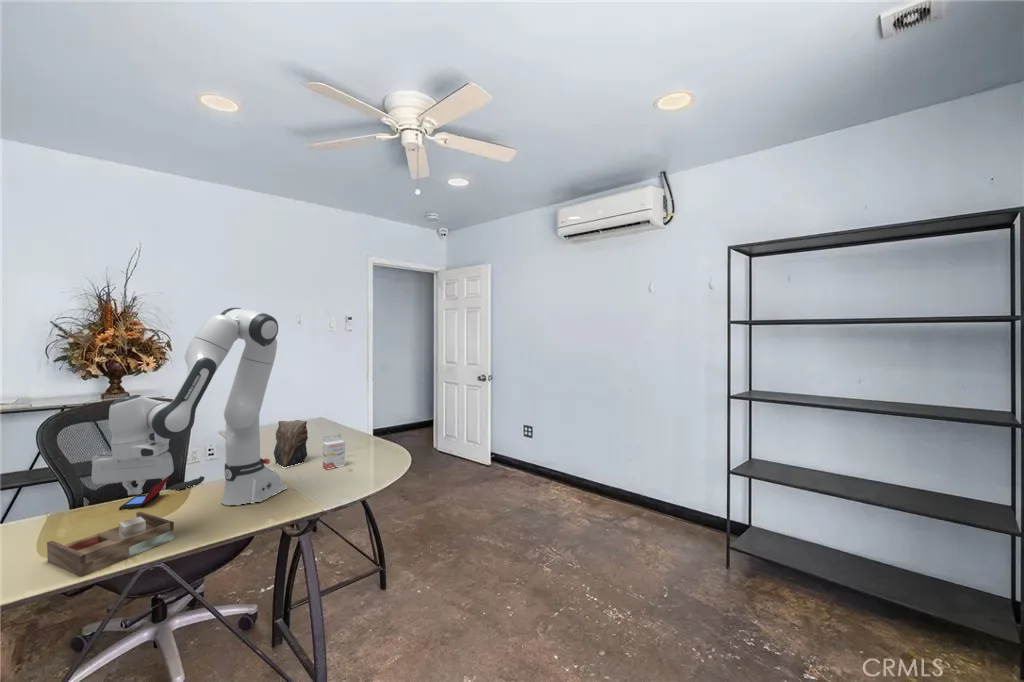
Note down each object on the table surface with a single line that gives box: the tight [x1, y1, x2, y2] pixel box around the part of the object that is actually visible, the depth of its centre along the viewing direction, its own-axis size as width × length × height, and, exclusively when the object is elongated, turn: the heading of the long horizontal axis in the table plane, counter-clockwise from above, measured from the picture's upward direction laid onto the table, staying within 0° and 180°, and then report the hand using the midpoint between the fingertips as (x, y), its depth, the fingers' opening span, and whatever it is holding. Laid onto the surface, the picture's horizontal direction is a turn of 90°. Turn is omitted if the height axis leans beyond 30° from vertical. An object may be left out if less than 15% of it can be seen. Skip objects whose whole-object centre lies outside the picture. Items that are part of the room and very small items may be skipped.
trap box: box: [46, 511, 175, 578], centre depth 130 cm, size 22×18×6 cm
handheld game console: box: [118, 476, 169, 511], centre depth 164 cm, size 12×11×7 cm
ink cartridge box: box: [322, 433, 346, 470], centre depth 205 cm, size 9×5×15 cm, turn 133°
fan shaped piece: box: [167, 475, 205, 491], centre depth 183 cm, size 8×14×2 cm, turn 165°
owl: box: [273, 419, 309, 467], centre depth 210 cm, size 13×13×20 cm
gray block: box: [118, 516, 146, 540], centre depth 130 cm, size 5×5×5 cm
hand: (135, 494), depth 135 cm, fingers closed
